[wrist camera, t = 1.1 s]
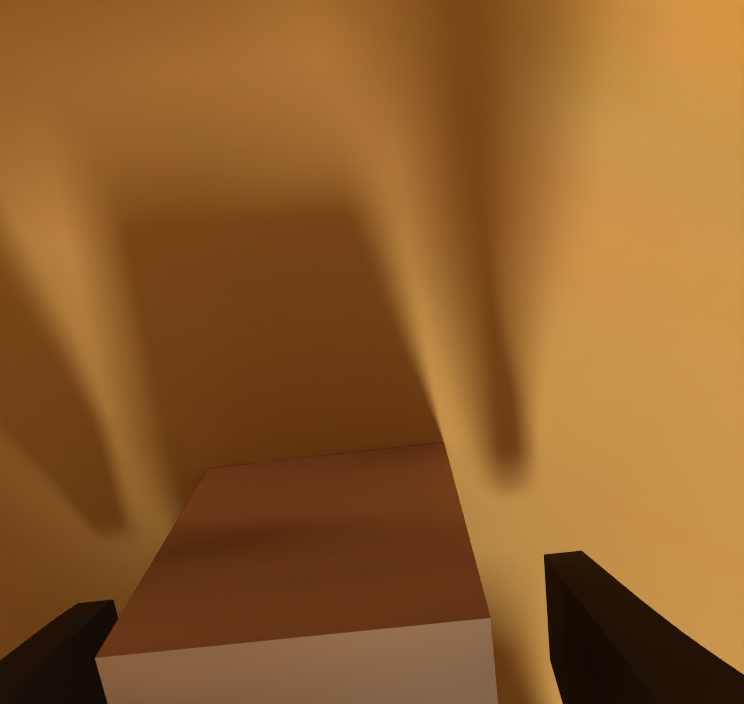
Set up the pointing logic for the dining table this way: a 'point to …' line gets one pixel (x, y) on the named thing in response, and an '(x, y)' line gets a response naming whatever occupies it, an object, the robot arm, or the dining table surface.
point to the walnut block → (311, 590)
